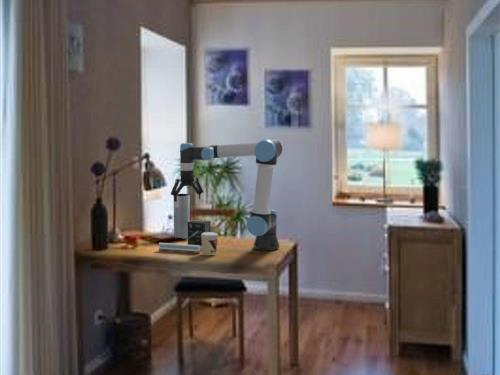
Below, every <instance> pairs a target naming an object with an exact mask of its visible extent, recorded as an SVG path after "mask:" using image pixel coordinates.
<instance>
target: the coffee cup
mask: <svg viewBox="0 0 500 375" xmlns="http://www.w3.org/2000/svg"><path fill="white" fill-rule="evenodd" d="M218 237H219V235H218V233H217V232H213V231H211V232H204V233H202V234H201V239H202V252H201V253H202V255H203V254H204V255H215V254H216V255H217V251H218ZM204 255H203V256H204ZM216 255H215V256H216Z"/></svg>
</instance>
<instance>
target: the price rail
mask: <svg viewBox="0 0 500 375" xmlns="http://www.w3.org/2000/svg"><path fill="white" fill-rule="evenodd" d="M159 249H172V250H186V251H199V245H188V244H185V243H171V242H169V243H168V242H159V243H158V250H159Z"/></svg>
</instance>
